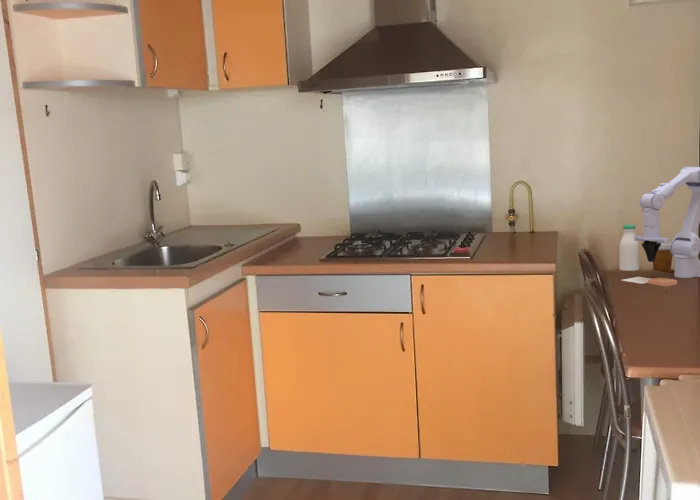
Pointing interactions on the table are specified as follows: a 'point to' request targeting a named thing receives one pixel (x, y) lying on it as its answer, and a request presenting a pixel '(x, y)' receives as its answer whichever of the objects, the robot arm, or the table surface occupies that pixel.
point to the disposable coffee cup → (663, 259)
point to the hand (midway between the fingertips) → (651, 261)
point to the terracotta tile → (662, 281)
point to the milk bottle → (629, 250)
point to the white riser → (637, 280)
